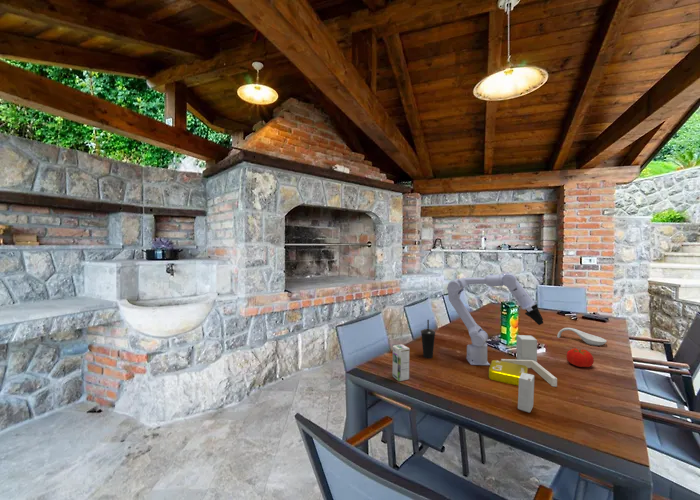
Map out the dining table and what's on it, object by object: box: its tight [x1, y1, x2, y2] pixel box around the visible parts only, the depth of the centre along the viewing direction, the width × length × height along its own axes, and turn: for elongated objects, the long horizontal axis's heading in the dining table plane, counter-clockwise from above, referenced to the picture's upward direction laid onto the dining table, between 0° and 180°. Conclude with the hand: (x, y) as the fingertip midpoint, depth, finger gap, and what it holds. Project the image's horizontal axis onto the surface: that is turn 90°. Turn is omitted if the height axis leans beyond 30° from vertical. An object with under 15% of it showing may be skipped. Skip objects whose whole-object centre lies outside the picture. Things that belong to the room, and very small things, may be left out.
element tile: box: [488, 359, 529, 387], centre depth 137 cm, size 15×15×5 cm
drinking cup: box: [420, 319, 436, 359], centre depth 160 cm, size 8×8×20 cm
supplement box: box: [515, 334, 538, 363], centre depth 153 cm, size 7×7×13 cm
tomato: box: [566, 347, 595, 368], centre depth 149 cm, size 11×11×8 cm
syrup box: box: [391, 344, 410, 382], centre depth 136 cm, size 6×6×14 cm
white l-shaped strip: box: [500, 358, 558, 387], centre depth 138 cm, size 16×19×4 cm
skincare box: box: [517, 373, 535, 413], centre depth 112 cm, size 6×4×12 cm
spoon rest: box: [556, 327, 607, 347], centre depth 182 cm, size 24×12×7 cm, turn 45°
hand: (541, 322), depth 137 cm, fingers open, 7 cm apart
